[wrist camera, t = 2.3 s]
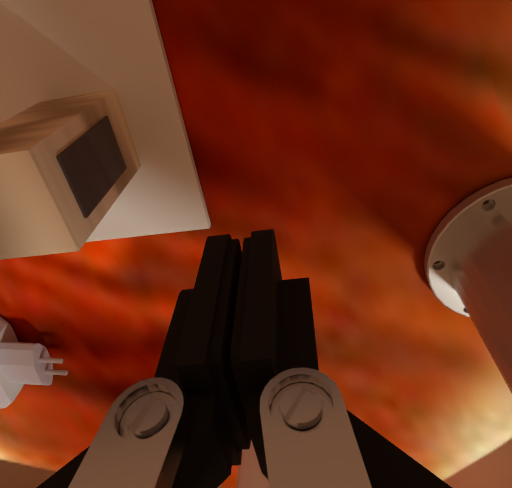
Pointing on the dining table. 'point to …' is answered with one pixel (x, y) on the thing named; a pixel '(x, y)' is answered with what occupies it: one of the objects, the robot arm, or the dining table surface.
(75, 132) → the maple block
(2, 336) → the charger
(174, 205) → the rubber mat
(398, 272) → the dining table surface
